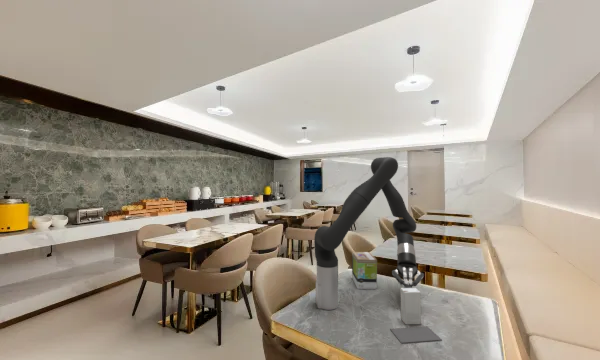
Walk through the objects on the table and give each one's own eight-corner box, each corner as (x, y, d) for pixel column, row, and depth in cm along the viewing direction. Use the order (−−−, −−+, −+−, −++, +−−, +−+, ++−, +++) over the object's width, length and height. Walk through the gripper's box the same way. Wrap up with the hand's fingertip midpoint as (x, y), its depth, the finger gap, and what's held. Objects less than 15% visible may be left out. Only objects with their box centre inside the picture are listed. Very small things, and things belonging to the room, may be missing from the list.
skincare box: (416, 318, 98) (415, 287, 98) (421, 325, 94) (421, 292, 94) (400, 318, 98) (399, 287, 98) (404, 325, 94) (404, 292, 94)
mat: (401, 343, 83) (401, 342, 83) (390, 329, 91) (390, 328, 91) (441, 340, 84) (441, 339, 84) (427, 327, 92) (427, 326, 92)
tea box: (377, 289, 126) (377, 259, 126) (357, 289, 126) (356, 259, 126) (369, 278, 141) (369, 251, 141) (351, 278, 141) (351, 251, 141)
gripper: (390, 250, 114) (391, 288, 102) (423, 252, 109) (428, 293, 98) (390, 258, 119) (391, 296, 107) (421, 261, 114) (426, 301, 103)
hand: (408, 294), depth 102 cm, fingers closed
